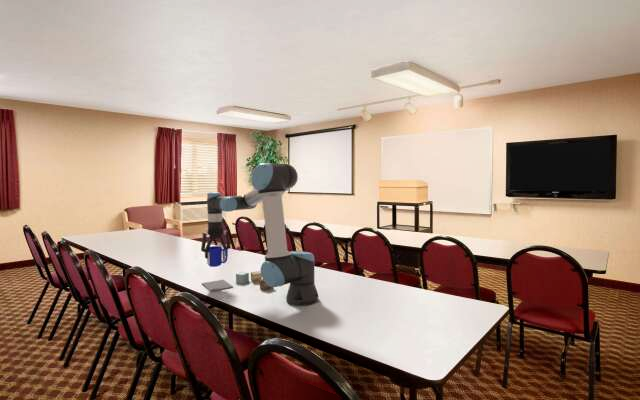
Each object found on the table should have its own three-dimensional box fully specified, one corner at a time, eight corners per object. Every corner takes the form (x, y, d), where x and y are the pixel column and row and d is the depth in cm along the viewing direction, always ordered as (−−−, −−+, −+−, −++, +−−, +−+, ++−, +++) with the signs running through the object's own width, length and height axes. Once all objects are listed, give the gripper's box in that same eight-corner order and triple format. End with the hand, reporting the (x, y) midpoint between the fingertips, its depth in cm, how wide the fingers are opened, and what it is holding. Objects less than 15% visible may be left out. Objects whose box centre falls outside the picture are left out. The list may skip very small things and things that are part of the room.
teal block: (248, 281, 202) (248, 272, 202) (243, 283, 198) (243, 274, 197) (241, 280, 204) (241, 271, 204) (236, 282, 200) (235, 274, 200)
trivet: (233, 287, 191) (232, 286, 191) (210, 291, 184) (210, 290, 184) (223, 280, 204) (223, 279, 204) (201, 284, 198) (201, 283, 198)
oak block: (261, 281, 201) (261, 273, 201) (252, 283, 199) (252, 274, 199) (259, 279, 206) (259, 271, 205) (250, 280, 204) (250, 272, 203)
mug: (224, 268, 188) (223, 249, 188) (204, 267, 192) (202, 249, 191) (232, 264, 196) (231, 246, 195) (212, 263, 199) (211, 245, 199)
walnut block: (273, 288, 189) (273, 279, 188) (266, 290, 185) (265, 281, 185) (267, 286, 192) (266, 277, 192) (259, 288, 188) (259, 279, 188)
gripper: (231, 219, 201) (232, 259, 202) (193, 221, 190) (194, 264, 191) (236, 220, 195) (237, 261, 196) (197, 223, 183) (198, 267, 185)
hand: (216, 263), depth 193 cm, fingers closed on mug, 8 cm apart
